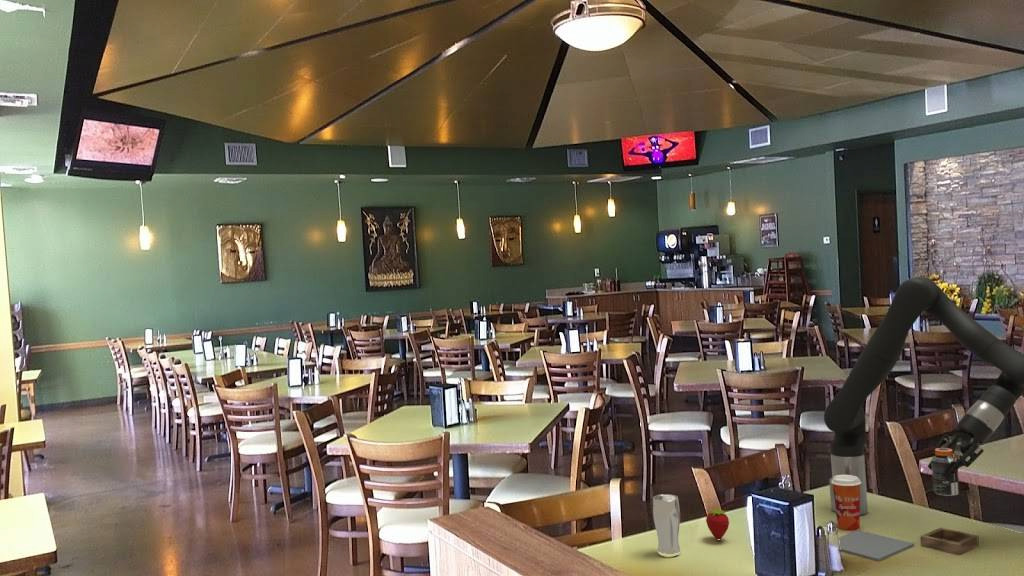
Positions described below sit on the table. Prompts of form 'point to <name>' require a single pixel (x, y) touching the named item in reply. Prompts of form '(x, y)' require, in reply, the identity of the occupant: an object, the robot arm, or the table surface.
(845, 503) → the paper cup
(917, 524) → the table surface
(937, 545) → the holder collar
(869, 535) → the rubber mat
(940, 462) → the pill bottle
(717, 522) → the strawberry
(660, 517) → the beer glass
